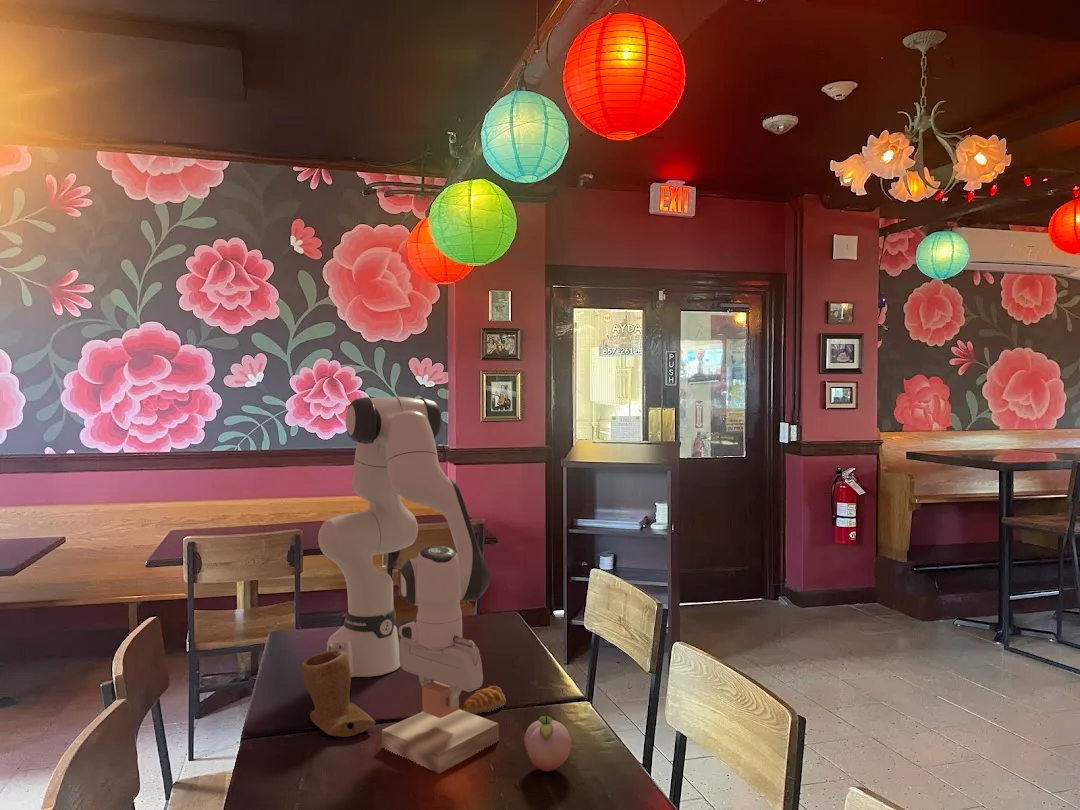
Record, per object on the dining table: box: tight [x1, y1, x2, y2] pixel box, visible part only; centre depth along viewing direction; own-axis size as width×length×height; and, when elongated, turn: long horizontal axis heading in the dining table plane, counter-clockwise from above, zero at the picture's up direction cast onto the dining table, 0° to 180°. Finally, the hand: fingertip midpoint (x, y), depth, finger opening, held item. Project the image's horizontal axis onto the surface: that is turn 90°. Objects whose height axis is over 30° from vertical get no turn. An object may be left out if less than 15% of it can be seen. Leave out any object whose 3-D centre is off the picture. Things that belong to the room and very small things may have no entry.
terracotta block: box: [421, 680, 460, 718], centre depth 150 cm, size 5×5×5 cm
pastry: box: [462, 685, 507, 715], centre depth 167 cm, size 9×7×4 cm
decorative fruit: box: [523, 715, 572, 773], centre depth 139 cm, size 9×8×10 cm
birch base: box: [381, 708, 500, 774], centre depth 150 cm, size 16×16×4 cm
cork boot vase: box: [301, 650, 376, 738], centre depth 158 cm, size 15×12×15 cm
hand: (440, 702), depth 150 cm, fingers closed on terracotta block, 5 cm apart
